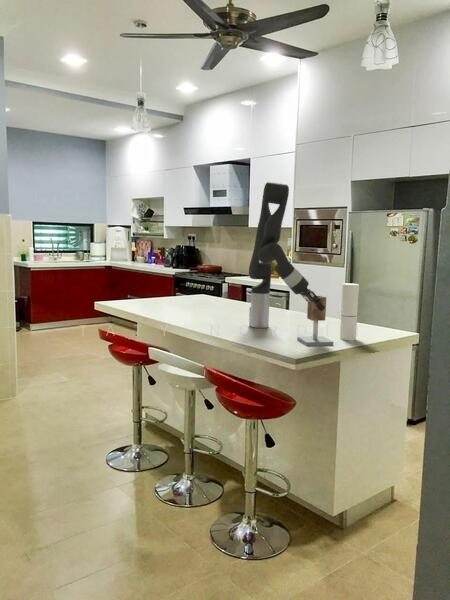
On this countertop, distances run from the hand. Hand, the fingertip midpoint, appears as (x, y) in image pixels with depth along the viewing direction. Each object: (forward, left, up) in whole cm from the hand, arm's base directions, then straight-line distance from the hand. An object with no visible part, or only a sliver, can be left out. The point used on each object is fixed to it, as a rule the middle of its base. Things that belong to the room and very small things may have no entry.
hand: (320, 308), depth 211 cm
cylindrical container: (+2, +17, -15) cm, 23 cm away
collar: (-1, -2, -5) cm, 5 cm away
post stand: (-1, -2, -15) cm, 15 cm away
